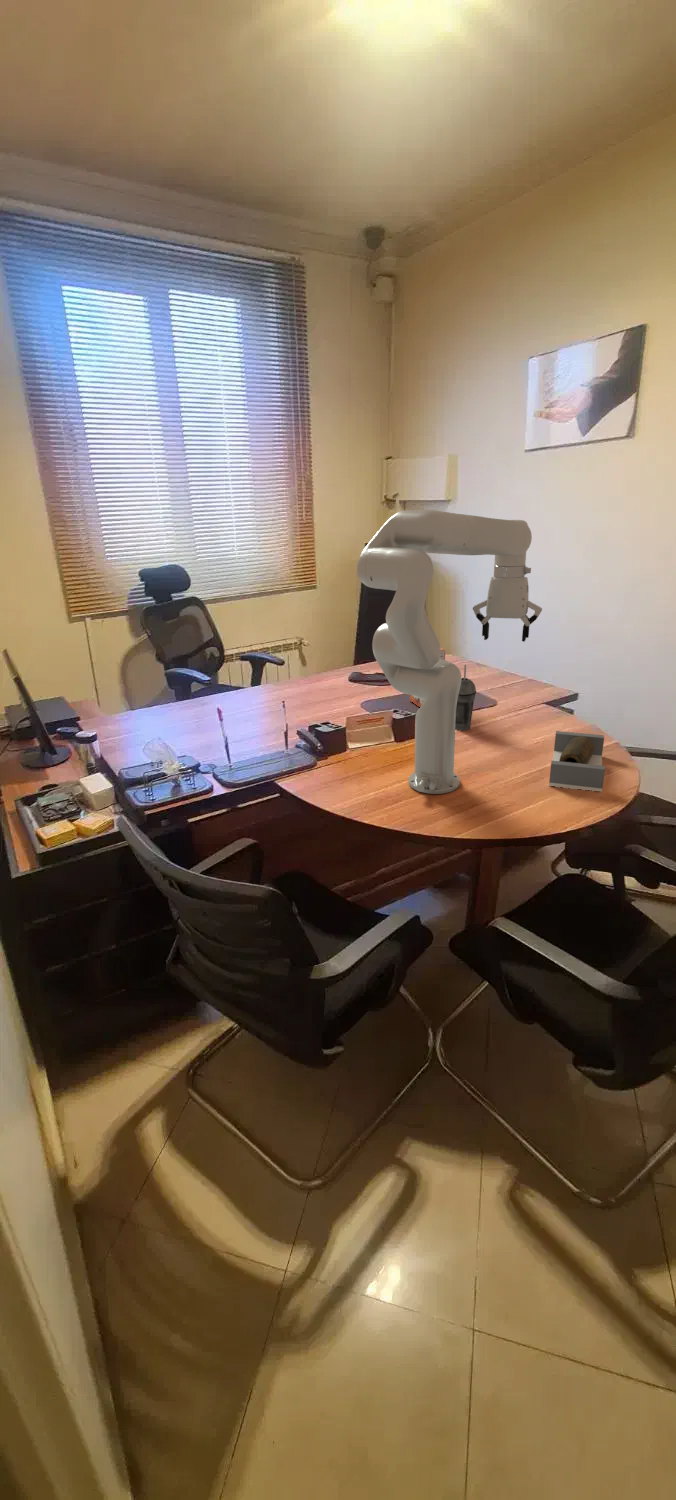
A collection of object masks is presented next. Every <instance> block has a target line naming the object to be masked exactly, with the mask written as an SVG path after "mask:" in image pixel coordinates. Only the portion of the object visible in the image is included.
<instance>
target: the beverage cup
mask: <svg viewBox="0 0 676 1500" xmlns="http://www.w3.org/2000/svg"><path fill="white" fill-rule="evenodd" d="M466 676H467V664H464V668H463V677H461V678H462V679H461V686H460V690H459V694H458V699H457V705H456V718H455V730H456V729H457V731H460V730H461V731H460V732H463V731H465V730H466V731H469V730H470V729H471V724H472V717H473V711H474V710H473V709H474V702H475V699H476V694H477V688H476V684H475V683H474V682H473V680H471V679H470V678H467V677H466ZM466 731H465V732H466Z"/></svg>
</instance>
